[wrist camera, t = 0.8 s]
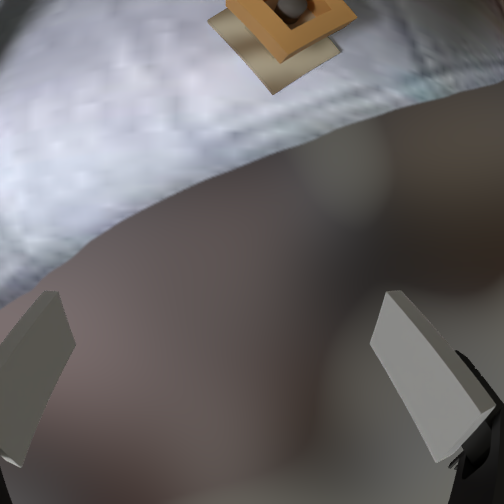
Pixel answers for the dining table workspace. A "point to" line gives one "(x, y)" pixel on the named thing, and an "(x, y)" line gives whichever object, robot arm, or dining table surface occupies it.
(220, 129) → the dining table surface
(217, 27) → the stand
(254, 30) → the ring
